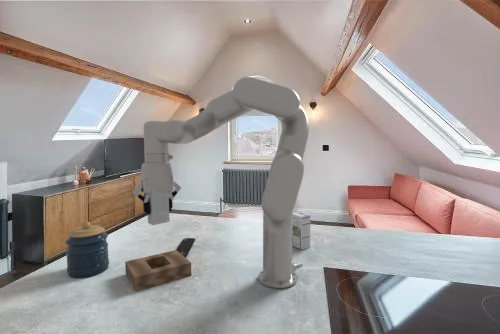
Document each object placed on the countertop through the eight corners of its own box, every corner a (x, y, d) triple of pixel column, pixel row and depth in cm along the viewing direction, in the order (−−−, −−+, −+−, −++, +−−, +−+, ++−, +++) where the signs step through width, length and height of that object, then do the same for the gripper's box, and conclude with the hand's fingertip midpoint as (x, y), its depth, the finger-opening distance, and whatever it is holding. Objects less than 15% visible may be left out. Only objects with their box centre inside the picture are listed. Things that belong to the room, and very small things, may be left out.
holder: (176, 261, 107) (176, 249, 107) (191, 275, 96) (191, 262, 95) (125, 274, 97) (125, 261, 96) (135, 291, 85) (135, 277, 85)
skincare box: (163, 219, 99) (163, 185, 98) (169, 222, 96) (169, 187, 95) (147, 222, 95) (145, 187, 94) (152, 225, 92) (151, 189, 90)
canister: (62, 271, 100) (59, 222, 98) (101, 259, 109) (99, 215, 108) (73, 283, 91) (70, 229, 89) (115, 269, 100) (112, 221, 99)
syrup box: (310, 247, 120) (311, 214, 119) (300, 250, 117) (301, 216, 116) (301, 243, 125) (301, 211, 124) (291, 246, 122) (291, 213, 121)
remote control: (170, 262, 107) (170, 259, 107) (184, 240, 131) (184, 238, 131) (184, 262, 107) (184, 259, 107) (195, 240, 131) (195, 237, 131)
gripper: (178, 157, 101) (179, 206, 103) (126, 159, 91) (128, 213, 93) (186, 158, 95) (187, 210, 97) (131, 160, 85) (133, 218, 87)
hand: (158, 211), depth 95 cm, fingers closed on skincare box, 6 cm apart
